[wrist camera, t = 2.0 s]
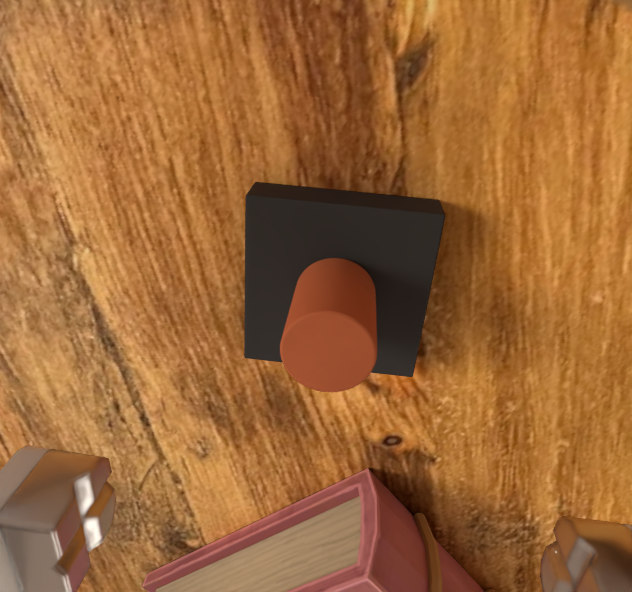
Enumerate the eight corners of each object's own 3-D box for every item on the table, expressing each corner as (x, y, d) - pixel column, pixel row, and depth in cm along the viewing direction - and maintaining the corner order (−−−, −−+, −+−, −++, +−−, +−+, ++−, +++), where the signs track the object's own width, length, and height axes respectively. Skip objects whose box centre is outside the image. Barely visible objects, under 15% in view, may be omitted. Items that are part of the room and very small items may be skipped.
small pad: (252, 335, 19) (218, 426, 15) (255, 181, 17) (213, 237, 12) (409, 353, 19) (422, 450, 15) (439, 199, 16) (465, 264, 12)
